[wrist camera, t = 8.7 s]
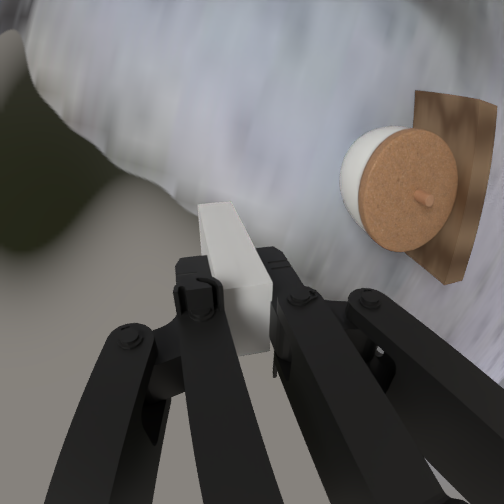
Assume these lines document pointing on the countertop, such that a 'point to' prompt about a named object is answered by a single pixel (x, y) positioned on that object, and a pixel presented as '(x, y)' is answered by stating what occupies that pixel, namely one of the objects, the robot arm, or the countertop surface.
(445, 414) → the robot arm
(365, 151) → the lidded jar
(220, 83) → the countertop surface
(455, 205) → the board
